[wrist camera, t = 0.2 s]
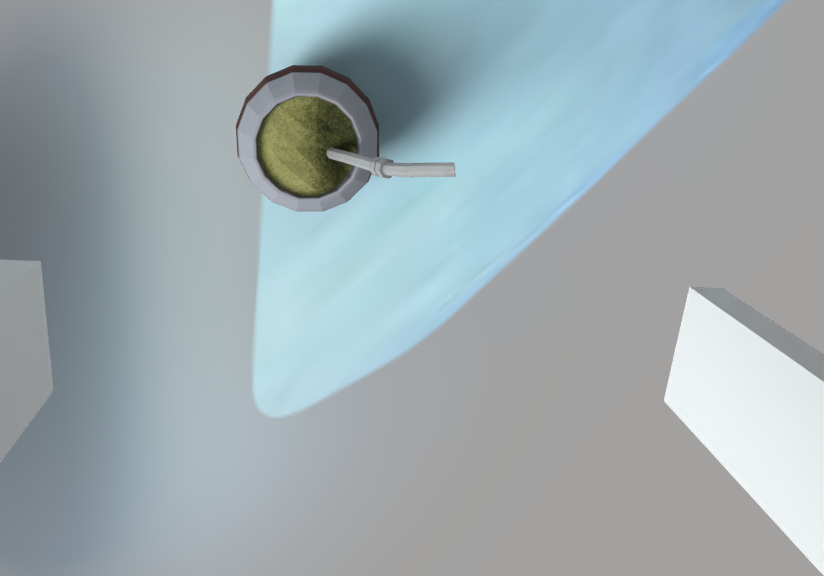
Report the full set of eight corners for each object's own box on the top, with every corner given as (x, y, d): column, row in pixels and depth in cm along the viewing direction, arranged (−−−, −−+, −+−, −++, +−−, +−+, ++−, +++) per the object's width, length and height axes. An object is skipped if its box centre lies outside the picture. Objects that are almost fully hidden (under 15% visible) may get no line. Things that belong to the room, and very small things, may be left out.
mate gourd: (220, 125, 39) (164, 178, 25) (320, 21, 38) (318, 17, 24) (318, 217, 42) (315, 311, 28) (414, 122, 41) (462, 171, 27)
